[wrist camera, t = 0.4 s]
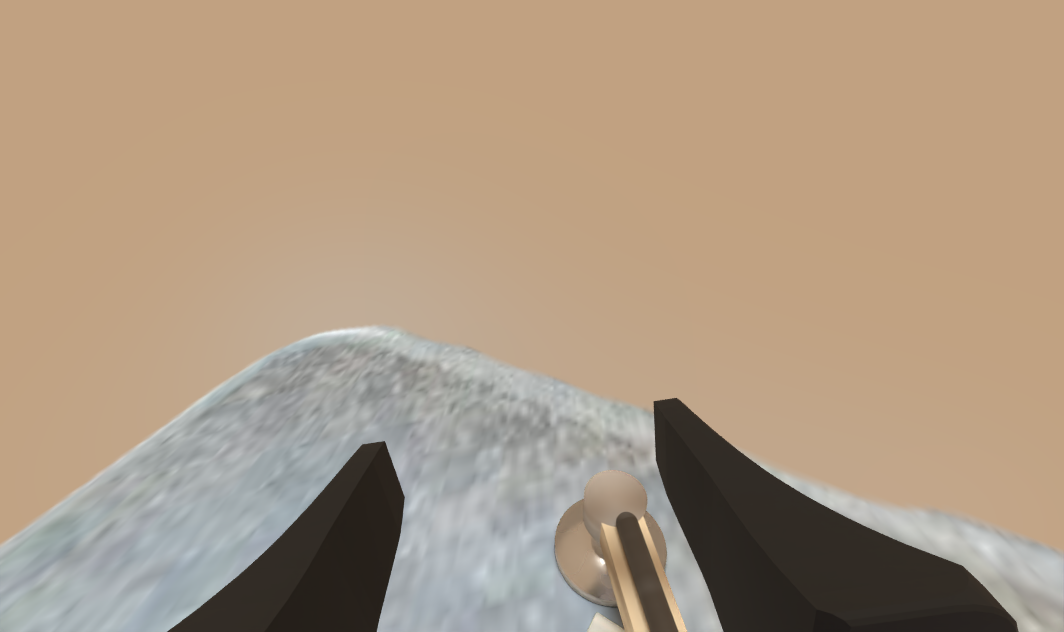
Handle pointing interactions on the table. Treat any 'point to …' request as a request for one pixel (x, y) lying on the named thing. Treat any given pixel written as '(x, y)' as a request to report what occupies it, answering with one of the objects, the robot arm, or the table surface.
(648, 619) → the swing arm
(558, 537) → the tan round flat base
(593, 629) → the hard drive
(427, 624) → the table surface
